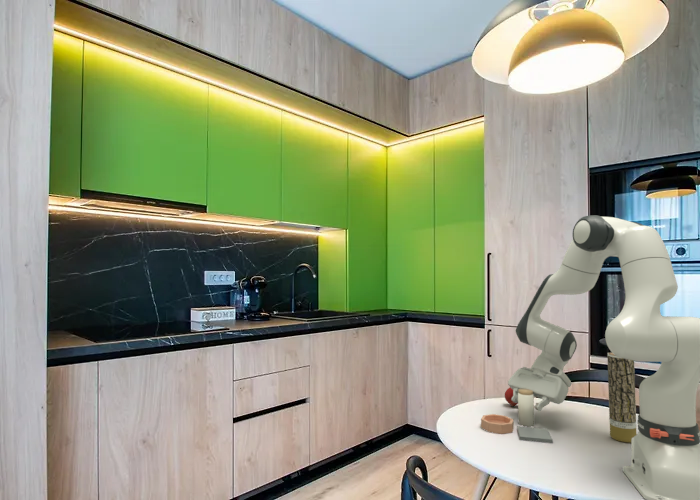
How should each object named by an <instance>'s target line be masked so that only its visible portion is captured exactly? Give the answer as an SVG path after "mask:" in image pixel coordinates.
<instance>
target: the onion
mask: <svg viewBox="0 0 700 500" xmlns="http://www.w3.org/2000/svg"><path fill="white" fill-rule="evenodd" d="M504 392H505V393H504V399H505V401H506V402H507V403H508V404H509V405H510V406H511V407H513V406H515V407H516V406H517V405H518V403H515V402H513V401H512V400H511V399H512V397H513V390H512V389H511V388H510V386H508V388H507V389H506V391H504Z"/></svg>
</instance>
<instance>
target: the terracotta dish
mask: <svg viewBox="0 0 700 500" xmlns="http://www.w3.org/2000/svg"><path fill="white" fill-rule="evenodd" d="M480 421H481V422H480V423H481V424H480V427H482V428H483V430H484V429H485V430H484V431H486V430H487V432H488V433H492V432H493V434H497V435H498V434H499V435H504V434H512V433H513V432H514V428H515V427H514V419H513V418H511V417H509V416H507V415H502V414H495V413H492V414H484V415H482V417H481V419H480ZM482 428H481V429H482Z"/></svg>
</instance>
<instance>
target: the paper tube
mask: <svg viewBox="0 0 700 500" xmlns="http://www.w3.org/2000/svg"><path fill="white" fill-rule="evenodd" d="M606 356H607V381H608V382H607V384H608V385H607V386H608V414H609V416H608V417H609V435H610V438H612V439H613V440H615V441H618V442H621V443H630V444H631V440H632V438H633V437H634V436H636V435H637V434H638V433H637V406H636V382H635V381H636V379H635V378H636V377H635V361H633V360H628V359H624V358H619V357H617V356H615V355H614V354H613V353H612V352H607V355H606Z"/></svg>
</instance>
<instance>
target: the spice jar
mask: <svg viewBox="0 0 700 500" xmlns="http://www.w3.org/2000/svg"><path fill="white" fill-rule="evenodd" d="M534 398H535V397H534V394H533V390H530V389H524V388H522V389H519V392H518V404H517V405H518V406H517V409H518V411H517V413H518V416H517V417H518V425H519V424H520V426H521V425H523V426H522V427H525V426H527V427H531V426H533V427H534V426H535V408H534V406H535V401H534Z"/></svg>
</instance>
